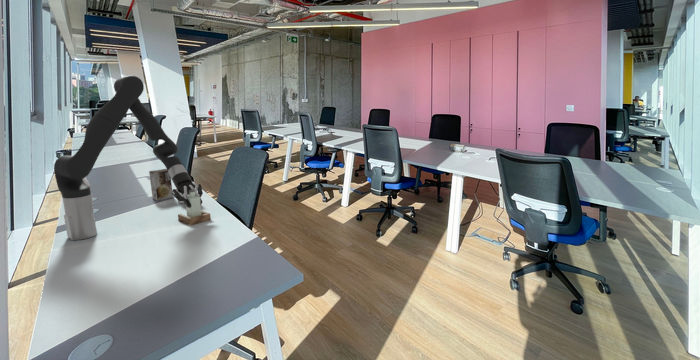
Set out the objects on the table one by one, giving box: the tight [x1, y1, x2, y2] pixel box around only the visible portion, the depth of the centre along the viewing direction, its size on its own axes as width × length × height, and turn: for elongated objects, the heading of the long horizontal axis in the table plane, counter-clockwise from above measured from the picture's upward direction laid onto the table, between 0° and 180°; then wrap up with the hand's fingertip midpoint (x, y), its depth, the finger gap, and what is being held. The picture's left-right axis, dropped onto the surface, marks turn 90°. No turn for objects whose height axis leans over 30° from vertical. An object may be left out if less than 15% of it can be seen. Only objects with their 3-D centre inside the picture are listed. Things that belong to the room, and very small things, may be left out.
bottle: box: [185, 189, 202, 218], centre depth 167 cm, size 5×5×12 cm
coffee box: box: [148, 168, 174, 202], centre depth 204 cm, size 9×6×16 cm
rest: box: [177, 210, 212, 226], centre depth 168 cm, size 10×11×3 cm
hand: (195, 205), depth 166 cm, fingers closed on bottle, 4 cm apart
